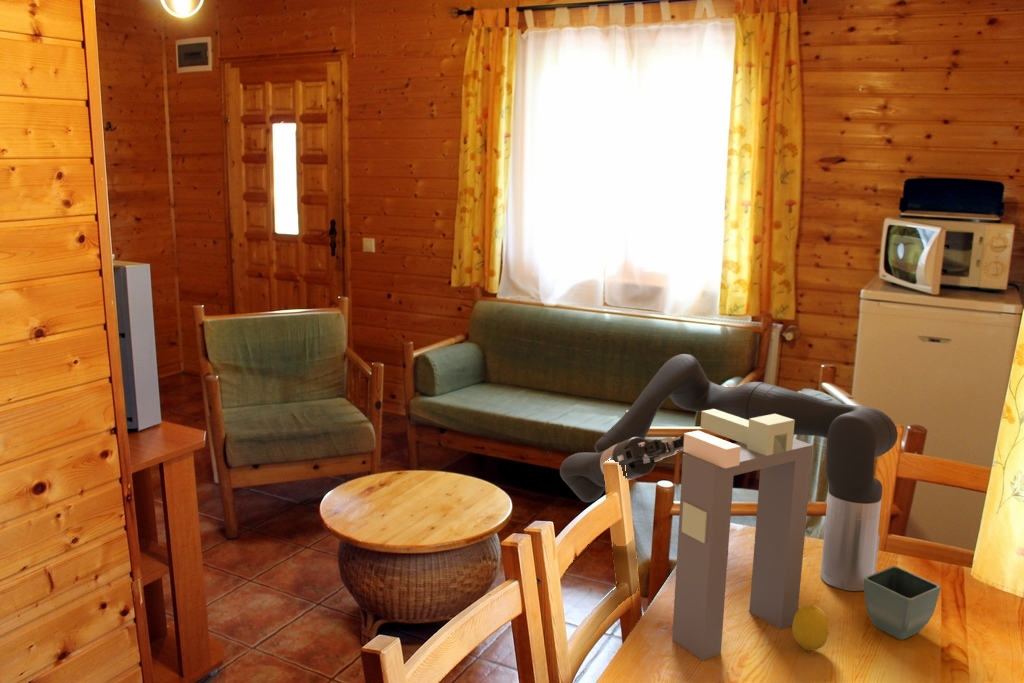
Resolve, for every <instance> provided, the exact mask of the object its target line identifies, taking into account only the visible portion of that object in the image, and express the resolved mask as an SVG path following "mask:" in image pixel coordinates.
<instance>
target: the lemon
mask: <svg viewBox="0 0 1024 683" xmlns="http://www.w3.org/2000/svg"><path fill="white" fill-rule="evenodd" d="M791 628H792V629H791V630H792V635H793V637H794V640H795V641H796V643H797V644H798V645H799V646H801V648H803V649H805V650H806V651H808V652H811V651H812V650H813V651H815V650H818V649H821V648H822V647H823V646H824V645H825V644H826V643H827V640H828V638H829V634H830V624H829V620H828V617H827V615H826V613H825V612H824V611H823V609H821V608H820V607H818V606H816V605H815V604H808V605H807V604H806V605H803V606H801V607H799V608H798V611H797V612H796V614H795V616H794V619H793V625H792V626H791Z"/></svg>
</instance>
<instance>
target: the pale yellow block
mask: <svg viewBox="0 0 1024 683" xmlns="http://www.w3.org/2000/svg"><path fill="white" fill-rule="evenodd" d="M700 413H701V416H700V428H701V429H702V430H706V431H708V432H711V433H714V434H716V435H718V436H722V437H724V438H728V439H730V440H733V441H736V442H737V443H738V442H741V443H743V444H746V445H747V449H749V450H752V451H755V452H757V453H760V454H763V455H765V456H768V455H772V454H776V453H781V452H785V451H789V450H792V446H793V438H794V435H793V434H794V423H795V420H794V419H791V418H787V417H784V416H781V415H778V414H771V415H765V416H760V417H755V418H750V419H749V420H746V419H743V418H740V417H737V416H734V415H731V414H728V413H725V412H722V411H719V410H716V409H711V410H705V411H702V412H700Z"/></svg>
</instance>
